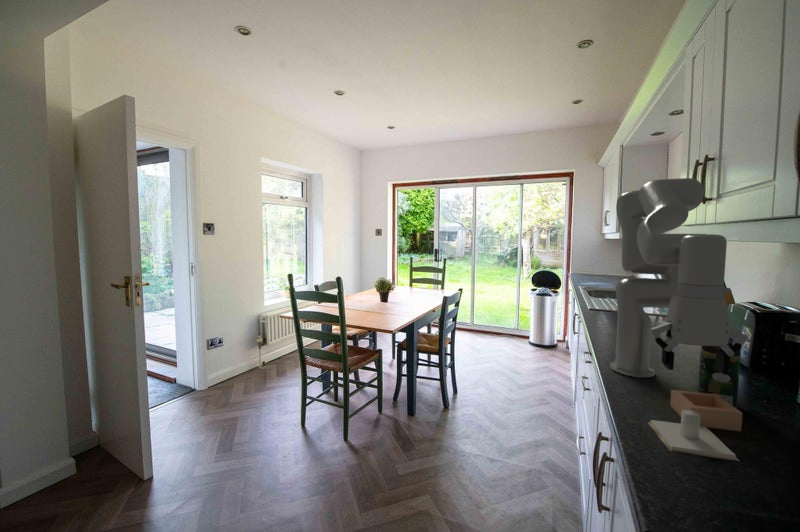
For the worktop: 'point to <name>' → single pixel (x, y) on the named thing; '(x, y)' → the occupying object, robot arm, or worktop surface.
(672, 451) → the mat
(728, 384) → the coffee jar
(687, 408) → the dish
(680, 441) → the lid
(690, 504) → the worktop surface
